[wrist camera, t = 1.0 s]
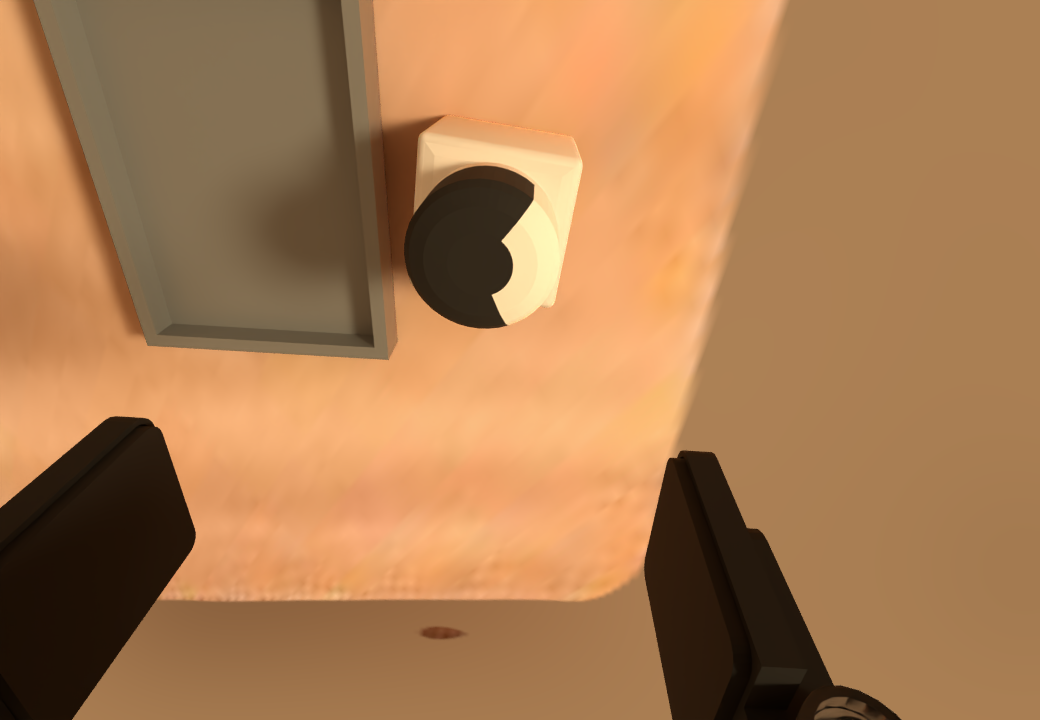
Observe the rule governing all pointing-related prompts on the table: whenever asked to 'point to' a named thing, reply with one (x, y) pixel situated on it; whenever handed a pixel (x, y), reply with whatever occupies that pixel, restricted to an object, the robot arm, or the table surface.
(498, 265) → the medicine bottle
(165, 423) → the table surface
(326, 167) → the gray tray
